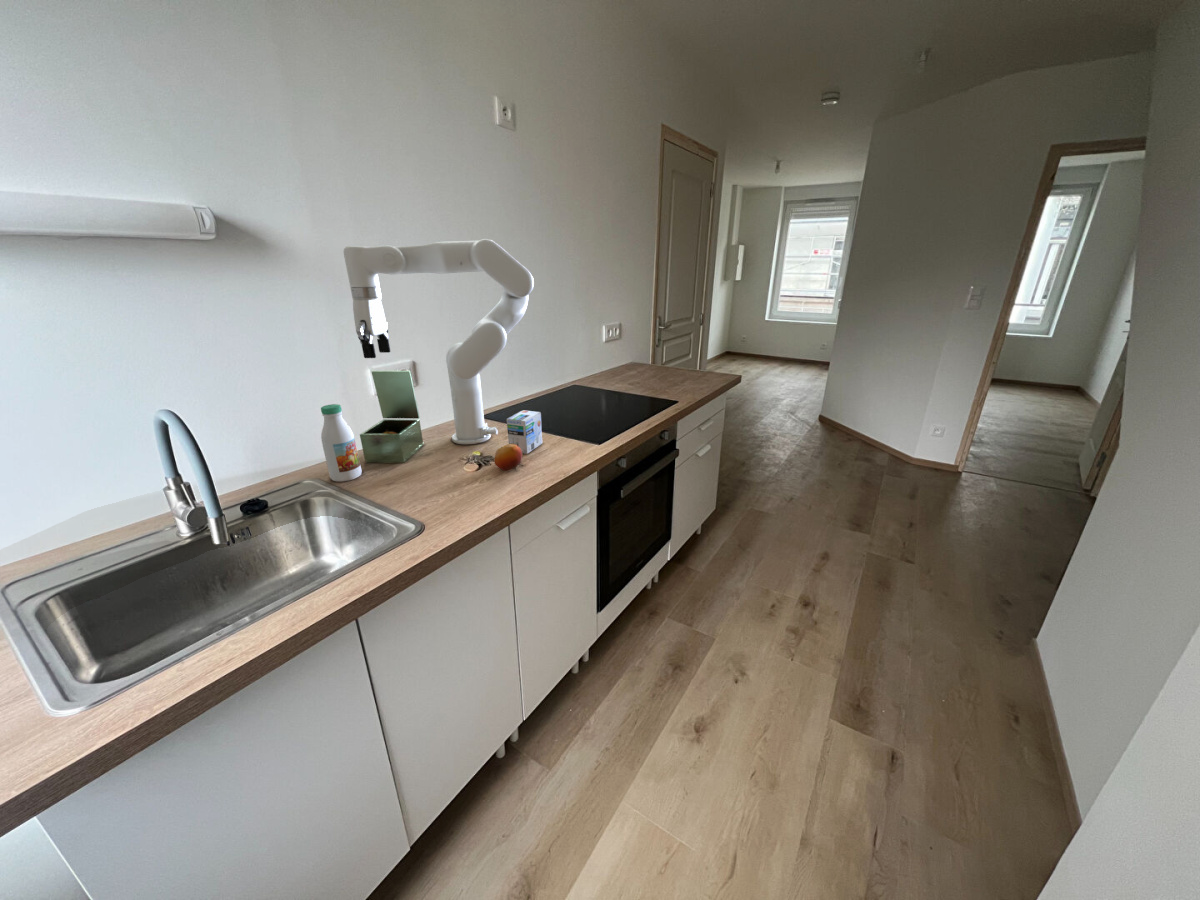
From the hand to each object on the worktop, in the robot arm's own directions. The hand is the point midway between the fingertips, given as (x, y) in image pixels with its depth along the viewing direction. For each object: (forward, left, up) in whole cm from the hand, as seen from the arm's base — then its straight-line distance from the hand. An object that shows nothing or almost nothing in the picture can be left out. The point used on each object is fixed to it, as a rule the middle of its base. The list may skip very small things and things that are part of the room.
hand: (377, 355), depth 134 cm
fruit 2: (-40, +15, -30) cm, 52 cm away
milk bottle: (+3, +22, -30) cm, 37 cm away
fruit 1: (-3, +7, -29) cm, 30 cm away
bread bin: (-3, +5, -30) cm, 30 cm away
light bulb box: (-42, -1, -30) cm, 51 cm away
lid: (-3, -1, -13) cm, 13 cm away
